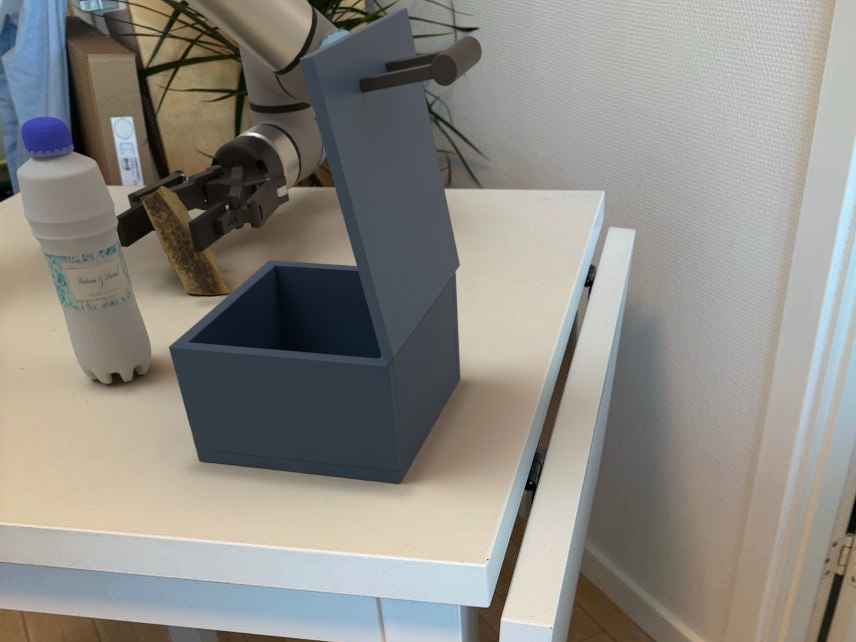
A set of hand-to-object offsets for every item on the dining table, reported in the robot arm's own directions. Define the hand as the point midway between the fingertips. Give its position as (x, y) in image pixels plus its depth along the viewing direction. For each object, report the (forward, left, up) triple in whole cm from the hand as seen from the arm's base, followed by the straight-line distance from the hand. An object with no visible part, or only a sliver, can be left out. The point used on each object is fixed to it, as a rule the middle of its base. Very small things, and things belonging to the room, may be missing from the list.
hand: (157, 235), depth 89 cm
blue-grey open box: (+26, -21, -6) cm, 34 cm away
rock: (+1, +5, -6) cm, 8 cm away
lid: (+32, -21, +12) cm, 40 cm away
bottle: (+4, -17, -6) cm, 19 cm away
